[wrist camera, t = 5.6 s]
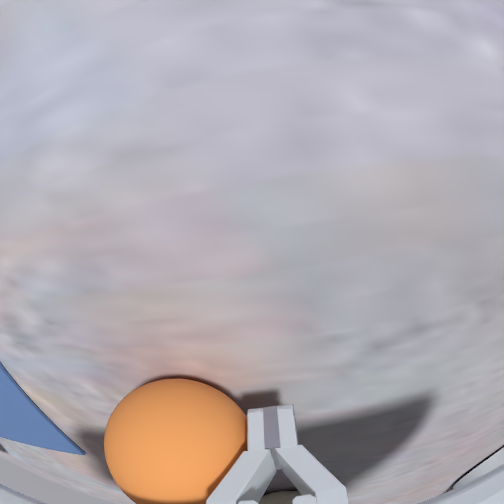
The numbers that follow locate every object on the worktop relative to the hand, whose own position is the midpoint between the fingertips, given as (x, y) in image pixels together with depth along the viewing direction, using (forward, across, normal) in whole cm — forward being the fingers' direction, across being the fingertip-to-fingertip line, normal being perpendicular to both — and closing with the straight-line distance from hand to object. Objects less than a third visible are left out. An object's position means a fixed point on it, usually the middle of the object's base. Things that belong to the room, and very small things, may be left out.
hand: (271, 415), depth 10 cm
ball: (-1, -3, -1) cm, 4 cm away
